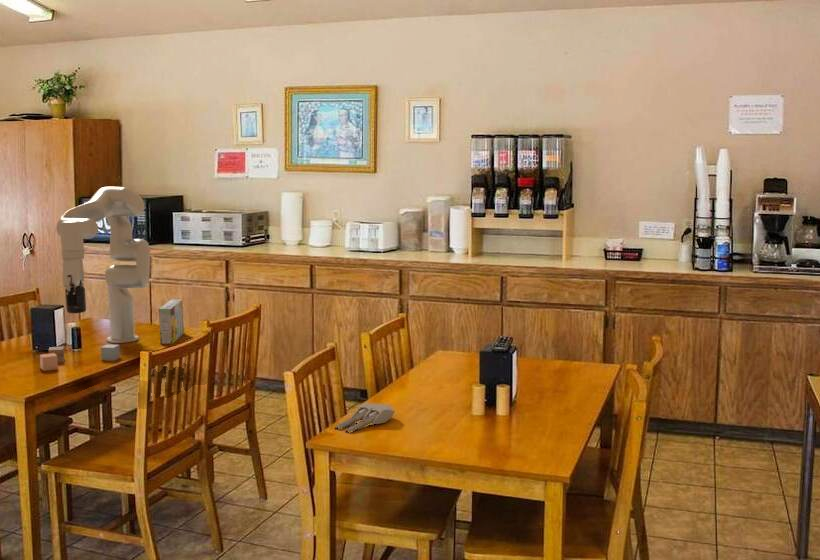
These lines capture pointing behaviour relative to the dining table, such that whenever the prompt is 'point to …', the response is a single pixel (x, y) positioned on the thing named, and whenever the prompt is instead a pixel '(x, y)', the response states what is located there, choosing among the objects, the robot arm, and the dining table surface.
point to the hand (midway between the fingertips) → (75, 302)
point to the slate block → (110, 352)
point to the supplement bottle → (80, 300)
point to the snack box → (171, 321)
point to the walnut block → (57, 353)
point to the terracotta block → (48, 362)
